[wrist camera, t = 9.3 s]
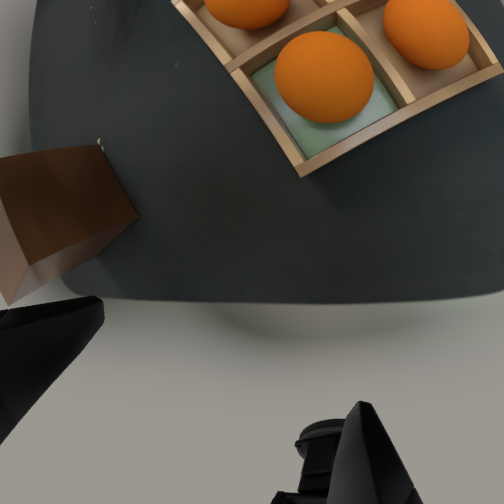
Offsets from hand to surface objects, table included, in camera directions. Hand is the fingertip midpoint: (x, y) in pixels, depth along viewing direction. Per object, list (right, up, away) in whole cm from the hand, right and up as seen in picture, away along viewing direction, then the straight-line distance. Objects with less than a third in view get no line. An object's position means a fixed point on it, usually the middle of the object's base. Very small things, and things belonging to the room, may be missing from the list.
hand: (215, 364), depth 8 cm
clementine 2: (+5, +12, +5) cm, 14 cm away
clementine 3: (+10, +15, +2) cm, 18 cm away
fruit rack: (+6, +17, +4) cm, 18 cm away
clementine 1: (+2, +18, +4) cm, 18 cm away
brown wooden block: (-12, +7, +13) cm, 19 cm away
